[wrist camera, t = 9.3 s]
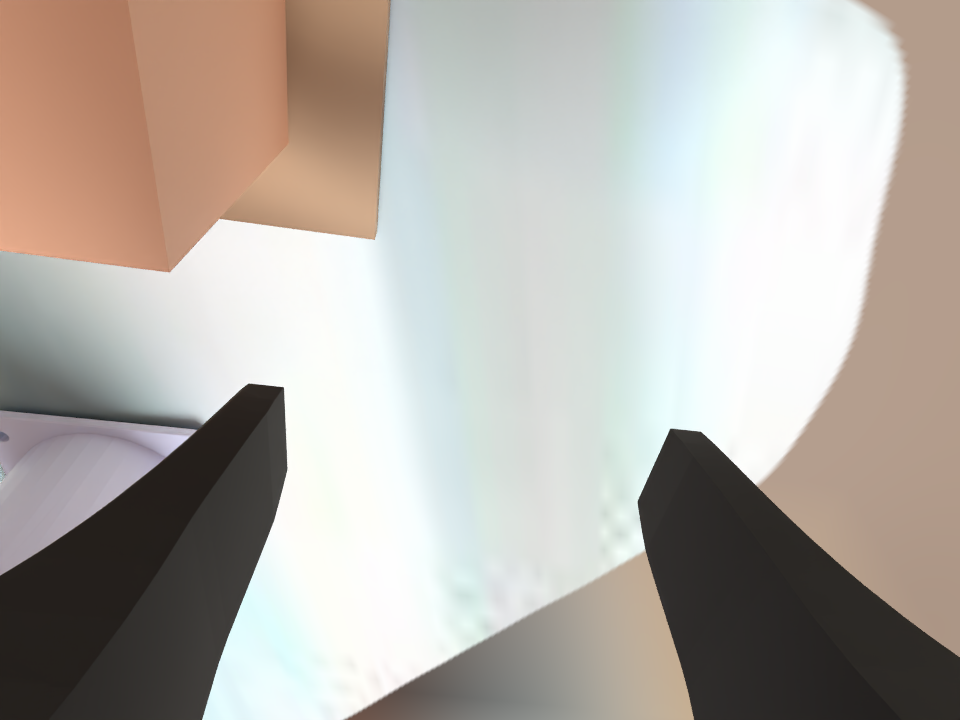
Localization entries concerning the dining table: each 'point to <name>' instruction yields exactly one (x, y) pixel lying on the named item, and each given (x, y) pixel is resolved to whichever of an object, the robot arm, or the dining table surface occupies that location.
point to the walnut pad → (327, 123)
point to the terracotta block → (134, 122)
